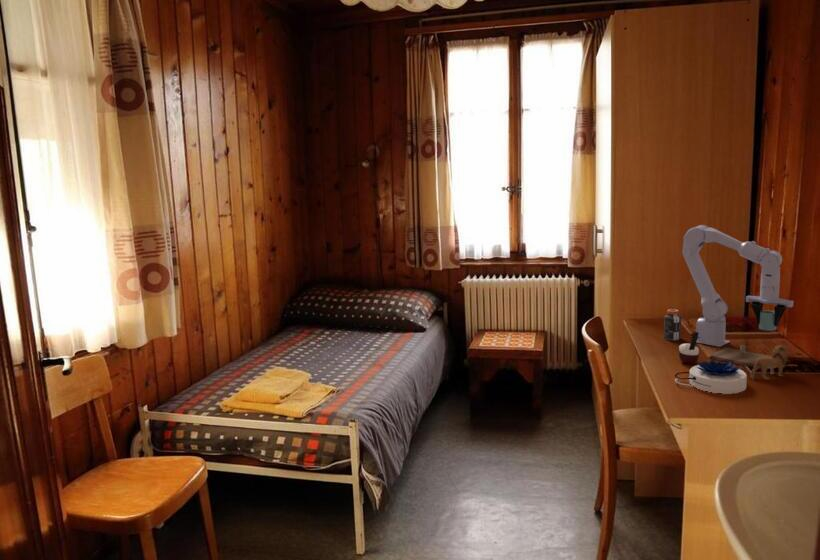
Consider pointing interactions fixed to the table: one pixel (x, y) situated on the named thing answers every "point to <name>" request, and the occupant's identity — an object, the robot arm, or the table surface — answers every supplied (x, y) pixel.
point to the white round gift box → (716, 377)
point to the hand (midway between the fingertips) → (767, 324)
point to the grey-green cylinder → (767, 320)
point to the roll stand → (737, 356)
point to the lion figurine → (771, 362)
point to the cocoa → (689, 351)
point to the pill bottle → (672, 325)
